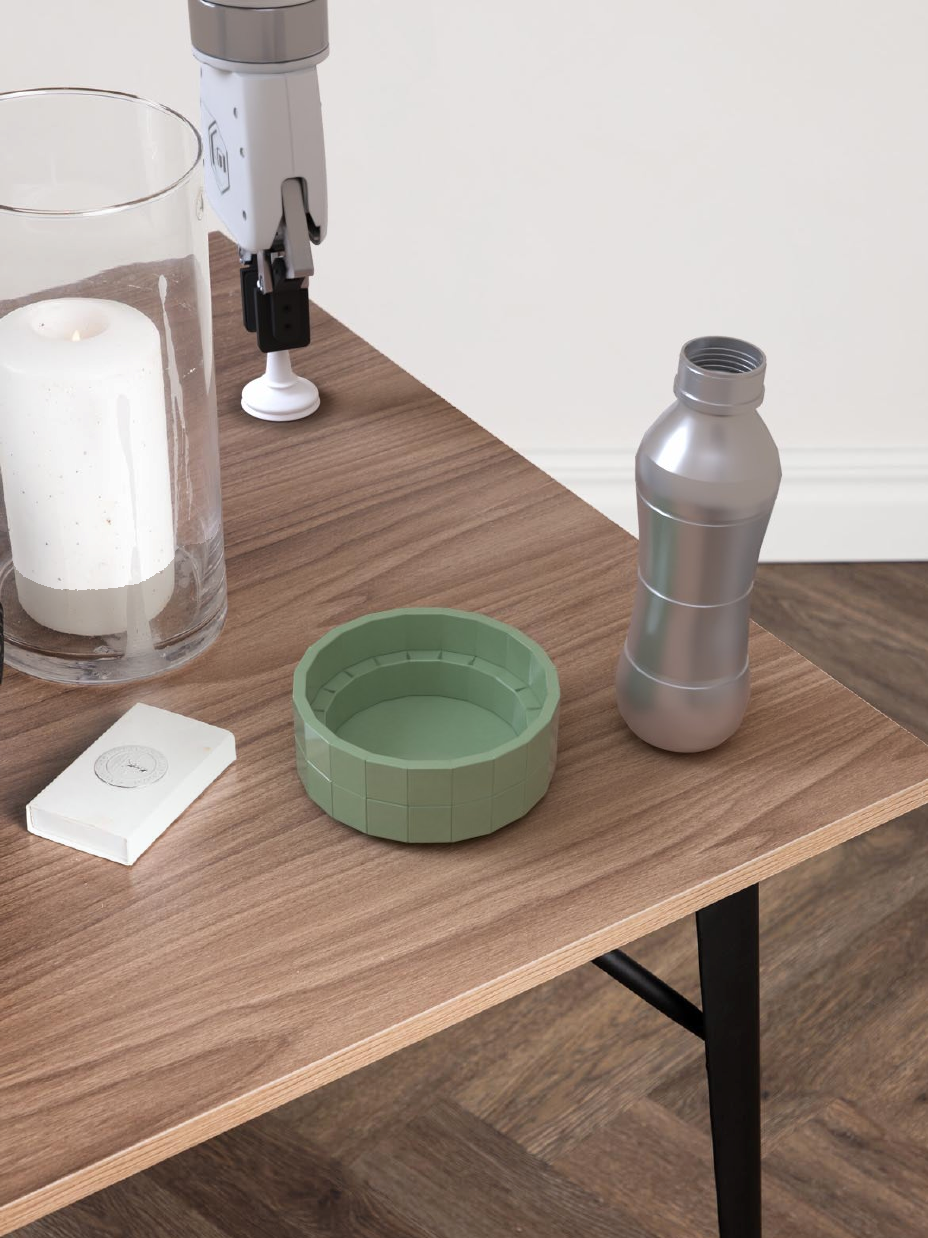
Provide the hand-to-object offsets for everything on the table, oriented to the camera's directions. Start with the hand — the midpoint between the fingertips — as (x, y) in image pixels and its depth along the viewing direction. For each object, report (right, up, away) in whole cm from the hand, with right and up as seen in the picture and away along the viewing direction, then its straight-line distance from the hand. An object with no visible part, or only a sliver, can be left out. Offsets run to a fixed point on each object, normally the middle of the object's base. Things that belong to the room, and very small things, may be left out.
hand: (277, 335), depth 105 cm
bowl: (+11, -27, -23) cm, 37 cm away
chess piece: (0, -4, +3) cm, 5 cm away
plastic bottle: (+23, -25, -20) cm, 39 cm away
